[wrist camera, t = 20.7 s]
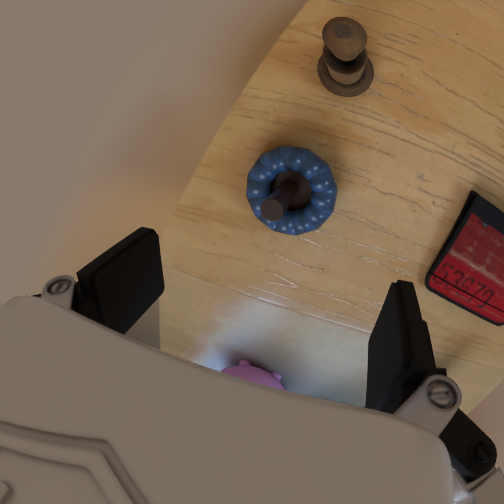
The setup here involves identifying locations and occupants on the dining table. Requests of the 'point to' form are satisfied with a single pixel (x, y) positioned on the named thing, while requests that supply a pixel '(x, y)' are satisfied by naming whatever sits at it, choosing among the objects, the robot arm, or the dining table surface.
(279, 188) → the stand
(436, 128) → the dining table surface
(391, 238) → the dining table surface
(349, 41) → the mortar and pestle
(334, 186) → the blue ring
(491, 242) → the ink pad
